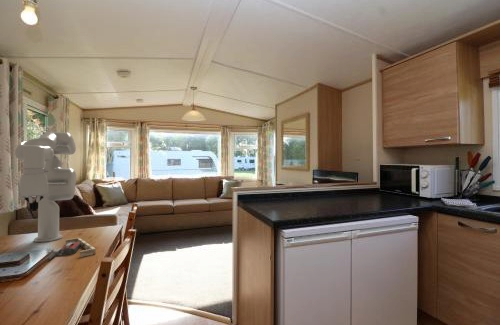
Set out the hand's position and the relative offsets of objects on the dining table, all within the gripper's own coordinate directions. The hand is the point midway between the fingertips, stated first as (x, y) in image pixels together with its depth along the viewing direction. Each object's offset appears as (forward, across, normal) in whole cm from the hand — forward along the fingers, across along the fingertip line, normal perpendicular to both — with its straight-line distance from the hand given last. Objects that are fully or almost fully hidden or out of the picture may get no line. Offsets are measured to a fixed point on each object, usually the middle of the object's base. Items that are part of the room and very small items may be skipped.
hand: (33, 210), depth 115 cm
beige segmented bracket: (+21, -17, +6) cm, 28 cm away
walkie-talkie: (+22, -11, +8) cm, 25 cm away
